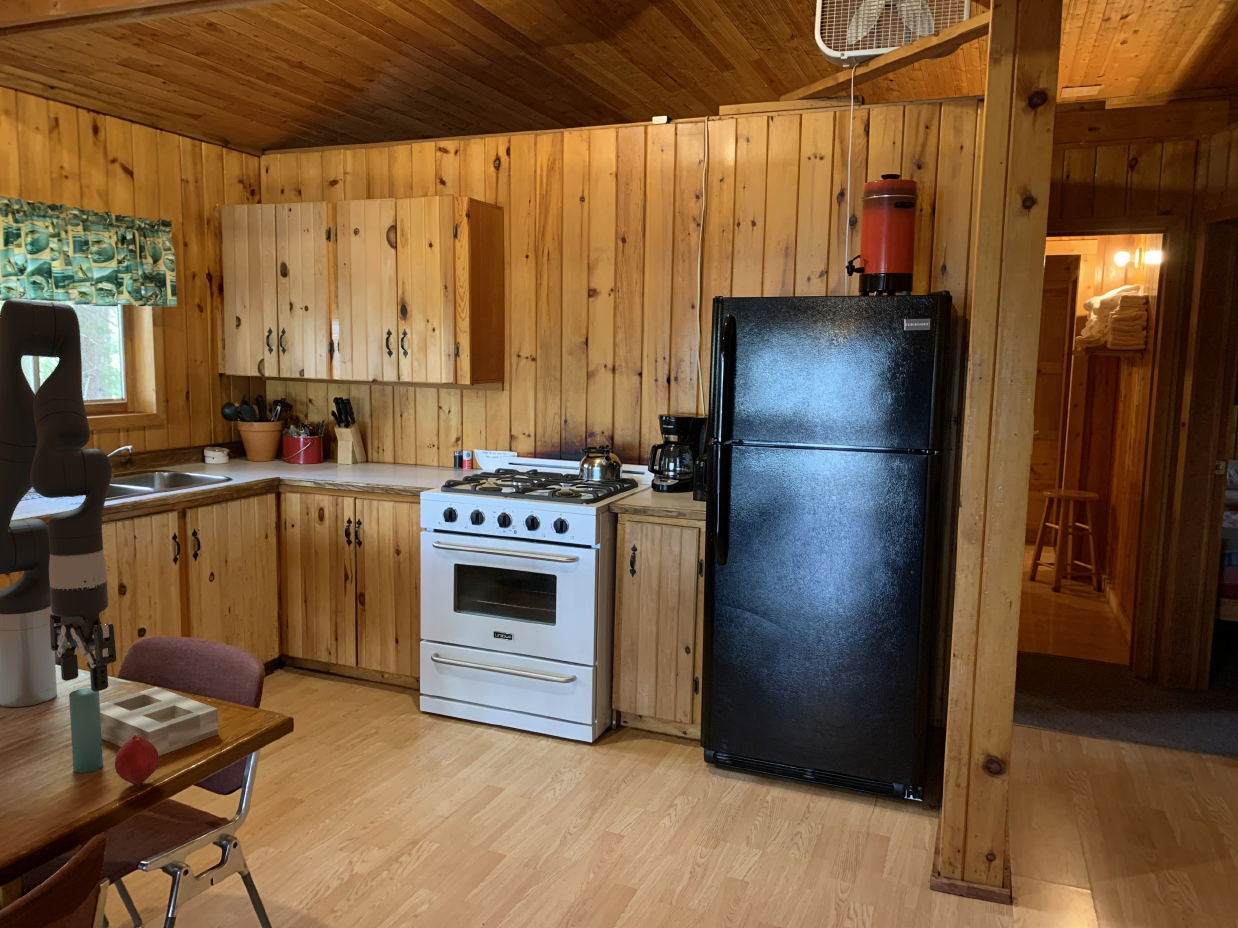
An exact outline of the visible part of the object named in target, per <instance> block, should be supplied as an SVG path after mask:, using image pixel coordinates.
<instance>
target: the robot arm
mask: <svg viewBox="0 0 1238 928" xmlns="http://www.w3.org/2000/svg"><path fill="white" fill-rule="evenodd" d="M81 346H82V343H81V327H80V323H79V317H78V314H77V312H76V310H75V309H74V308H73V307H72V306H71V305H69V304H66V303H61V302H56V301H47V300H46V301H45V300H44V301H43V300H38V299H37V300H36V299H28V298H27V299H26V298H16V297H15V298H13V297H12V298H8V299H6V300H5V301H4V302H3V303H2V305H1V309H0V575H6V574H11V573H19V572H23V573H22V574H21V575H22V576H21V577H19V578H18V579H17V580H16V581H15V582H14V583H11V585H9V586H7V587H5V588H3V589H1V590H0V706H2V707H7V708H8V707H9V708H20V707H21V708H23V707H29V706H34V705H38V704H42V703H45V702H47V701H50V700H52V699H54V698H55V697H56V696H57V695H58V689H57V688H58V686H57V669H56V668H57V667H56V666H57V665H56V654H57V656H58V658H60V659H59V660H60V673H61V680H63V681H64V682H65V681H66V682H69V681H71V680H75V679H77V678H78V677H79V663H78V661H79V660H78V654H76V653H77V652H78V651H79V652H80V653H81V655H82V656H84V657H86V659H87V662H88V664H89V666H90V667H89V675H90V688H91V690H92V691H95V692H97V691H99V692H100V691H103V690H107V689H108V687H109V675H108V666H109V664H113V663H116V662H117V650H116V641H115V640H116V639H115V638H116V637H115V630H114V629H115V627H114V624H113V622H108V623H102V622H101V617H100V614H101V613H102V612H103V611H105V610H107V609H108V607H109V597H108V596H109V595H108V580H107V579H108V578H107V563H106V558H105V554H104V543H103V542H104V541H103V515H104V507H105V503H106V499H107V495H108V492H109V488H110V484H111V481H112V474H113V466H112V465H113V464H112V461H111V460H110V458H109V456H108V455H107V454H106V452H105V451H103V450H102V449H99V448H84V447H86V445H87V444H88V443H89V441H90V438H91V430H90V425H89V424H90V423H89V420H88V416H87V411H86V407H85V403H84V401H85V400H84V396H83V395H84V394H83V382H82V381H83V365H82V362H83V361H82V347H81ZM24 356H25V357H28V356H29V357H42V358H58V363H57V365H56V367H55V368H54V369H53V371H52V372H51V373H50V374H49V375H48V377H46V379H45V380H44V381H43V382H42V383H41V385H40V386H39V387H38V389H37V391H36V393H35V392H34V391H33V389H32V387H31V385H30V383H29V381H28V379H27V377H26V375H25V372H24V370H23V367H22V359H23V357H24ZM32 488H33V490H34V491H35V492H36V493H37V494H39V495H40V496H41V497H43V498H47V499H48V498H49V499H53V498H54V499H55V498H57V499H58V498H69V497H81V496H85V498H84V500H83V502H82V503H81V504H80V505H79V506H78V507H76V508H73V509H70V510H67V511H63V512H60V513H56V514H54V515H52V516H51V517H50V518H49V519H48V523H46V522H45V521H44V520H42V519H39V518H30V519H28V518H27V519H20V520H12V518H13V517H14V516H13V515H14V513H15V511H16V509H17V507H18V505H19V503H20V502H21V501H22V500H23V498H24V497H25V496H26V495H27V494H28V493H29V492H30V490H31V489H32ZM58 637H59V638H58ZM107 650H108V651H107ZM55 651H56V652H55ZM55 653H56V654H55Z"/></svg>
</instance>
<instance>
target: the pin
mask: <svg viewBox="0 0 1238 928" xmlns="http://www.w3.org/2000/svg"><path fill="white" fill-rule="evenodd" d="M68 698H69V699H68V700H69V713H70V715H69V716H70V731H71V733H70V734H71V748H72V749H71V751H72V752H71V753H72V771H73V772H74V773H77V774H87V773H91V772H95V771H97V770H100V769H101V768H102V767H103V766H104V758H103V743H102V741H103V739H102V737H101V718H100V704H101V702H100V701H101V700H100V691H97V692H95V691H92V690H91V687H85V688H79V689H75V690H73V691H71V692H69V694H68Z"/></svg>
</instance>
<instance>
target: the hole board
mask: <svg viewBox="0 0 1238 928" xmlns="http://www.w3.org/2000/svg"><path fill="white" fill-rule="evenodd" d="M100 718H101V737H102V740H104V741H107V742H109V743H111V744H113V745H115V746H118V747H120V748H121V747H122V746H123V745H124V744H125V743H126V742H128V741H129V740H130V739H131V738H132V736H133V735H134V734H139V735H140V737H141V738H143V739H146V740H148V741H149V742H151V743H152V744H153V745H154V746H155V748H156V749H157V752H158V756H159V757H160V756H162V755H165V754H168V753H170V752H174V751H177V750H179V749H183V748H184V747H187V746H190V745H193V744H195V743H198V742H201V741H204V740H206V739H210V738H212V737H215V736H218V735H219V719H218V718H219V717H218V708H216V707H214V706H212V705H209V704H205V703H203V702H200V701H197V700H194V699H191V698H188V697H185V696H182V695H180V694H178V693H174V692H171V691H168V690H165V689H162V688H159V687H157V686H155V687H152V688H149V689H145V690H142V691H138V692H135V693H131V694H128V695H125V696H122V697H119V698H118V697H117V698H115V699H111V700H108V701H105V702H102V703H101V702H100Z"/></svg>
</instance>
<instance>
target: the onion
mask: <svg viewBox="0 0 1238 928" xmlns="http://www.w3.org/2000/svg"><path fill="white" fill-rule="evenodd" d="M115 756H116V757H115V759H114V760H115V761H114V769H115V773H116V774H117V775H118V776H119V778H121V779H122V780H124V781H125V782H128V783H130V784H132V785H133V786H136V787H137V786H141V785H143V784H144V783H145V782H146V780H148V779H149V778H150V777H151V776H152V775H153V774H154V772H156V769H157V768H158V764H159V759H160V758H159V757H160V756H158V752H157V749H156V748H155V746H154V745H153V744H152V743H151V742H149V741H148V740H146V739H143V738H141V737H140V735H139V734H134V735H133V736H132V738H131V739H130V740H129V741H128V742H126V743H125V744H124V745H123V746H122V747H120V748H119V750H118V751H117V753H116V755H115Z"/></svg>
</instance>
